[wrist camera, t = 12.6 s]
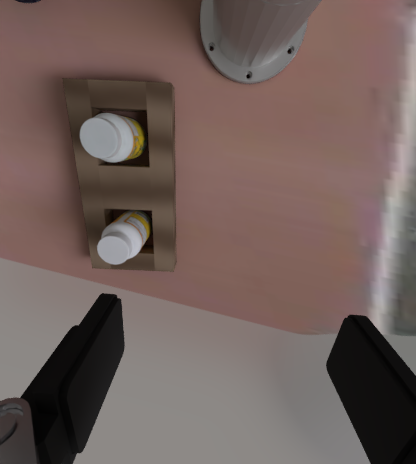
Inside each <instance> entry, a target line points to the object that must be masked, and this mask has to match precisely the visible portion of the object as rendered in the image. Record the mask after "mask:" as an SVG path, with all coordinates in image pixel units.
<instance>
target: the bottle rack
mask: <svg viewBox="0 0 416 464" xmlns="http://www.w3.org/2000/svg"><path fill="white" fill-rule="evenodd" d="M62 79H63V85H64V91H65V98H66V104H67V110H68V117H69V123H70V129H71V136H72V142H73V148H74V155H75V161H76V167H77V174H78V180H79V187H80V193H81V199H82V206H83V212H84V218H85V225H86V231H87V237H88V244H89V250H90V256H91V263H92V268H99V269H123V270H146V271H169V272H174V269H175V265H176V189H175V101H174V87H173V85H172V84H171V83H165V82H140V81H115V80H90V79H65V78H62ZM101 110H107V111H132V112H147V120H148V141H149V161H150V165H133V164H109V163H107V161H104V160H102V159H100V158H96V157H94V156H92V155H90V154H89V153H88V152H87V151H86V150H85V149H84V147H83V146H82V144H81V140H80V129H81V126H82V125H83V123H84V122H85V121H86V120H88V119H90V118H93V117H95V116H96V115H98V114H101V113H102V111H101ZM112 209H130V210H152V222H153V243H154V246H148V245H143V247H142V248H141V250H140V251H139V252H138V254H137V255H136V256H134V257H133V258H130V259H127V260H126V261H125V262H123V263H121V264H117V265H114V264H109V263H107V262H105V261H104V260H103V259H102V258H101V257H100V256H99V254H98V251H97V245H98V242H99V241H100V240H101V236H102V233H103V231H104V229H105V228H106V227H107V226H108V225H109V224H111V223H112V222H113V221H114V219H113V210H112Z"/></svg>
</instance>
